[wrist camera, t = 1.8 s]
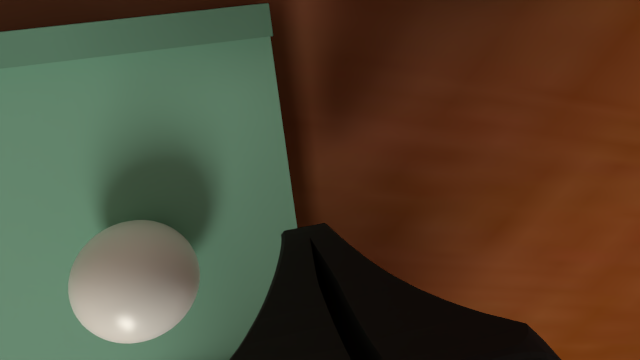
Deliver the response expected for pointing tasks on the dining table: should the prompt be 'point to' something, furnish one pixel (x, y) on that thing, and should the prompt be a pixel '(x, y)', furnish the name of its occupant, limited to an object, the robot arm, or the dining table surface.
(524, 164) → the dining table surface
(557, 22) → the dining table surface
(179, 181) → the green
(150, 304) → the ball
